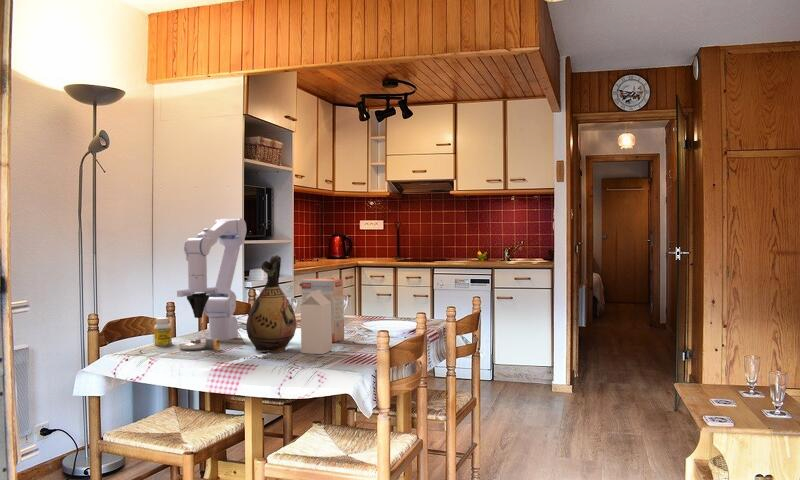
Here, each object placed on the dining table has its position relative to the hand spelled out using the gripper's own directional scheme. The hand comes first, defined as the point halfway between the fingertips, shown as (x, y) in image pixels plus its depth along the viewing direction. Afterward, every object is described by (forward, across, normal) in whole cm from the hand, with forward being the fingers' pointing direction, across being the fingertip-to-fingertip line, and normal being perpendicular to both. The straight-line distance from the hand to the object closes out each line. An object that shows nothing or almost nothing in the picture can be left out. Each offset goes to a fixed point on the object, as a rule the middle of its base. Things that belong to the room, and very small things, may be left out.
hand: (198, 317), depth 214 cm
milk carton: (+11, -16, +36) cm, 41 cm away
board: (+10, +2, +1) cm, 11 cm away
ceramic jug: (+11, -12, +22) cm, 27 cm away
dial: (+9, +1, +3) cm, 10 cm away
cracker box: (+10, -34, +23) cm, 42 cm away
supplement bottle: (+11, +2, -15) cm, 19 cm away
